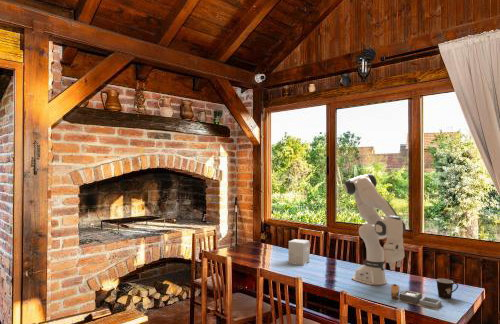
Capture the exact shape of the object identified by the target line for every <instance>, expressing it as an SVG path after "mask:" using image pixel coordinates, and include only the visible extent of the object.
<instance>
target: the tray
mask: <svg viewBox="0 0 500 324" xmlns="http://www.w3.org/2000/svg"><path fill="white" fill-rule="evenodd" d="M419 301H420V305H422V306H426V307H430V308H434V309H433V310H435V309H437V308H438V309H439V308H440V307H441V306H442V305H441V304H442V299H437V298H434V297H429V296H423V297H422V299H421V300H419ZM422 306H421V307H422ZM426 307H425V308H426ZM430 308H429V309H430ZM438 309H437V310H438Z"/></svg>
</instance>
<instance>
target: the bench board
mask: <svg viewBox="0 0 500 324" xmlns="http://www.w3.org/2000/svg"><path fill="white" fill-rule="evenodd" d="M397 301H398V302H402V303H406V304H410V305H411V304H412V305H414V306H418V307H424V308H427V309H432V310H435V311H437V310H438V309H439V308H437V309H434V308H430V307H426V306H422V305H420V302H418V303H417V304H413V303H409V302H405V301H401V300H399V299H397ZM441 306H443V303H441Z"/></svg>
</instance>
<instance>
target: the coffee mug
mask: <svg viewBox="0 0 500 324" xmlns="http://www.w3.org/2000/svg"><path fill="white" fill-rule="evenodd" d="M435 281H436V286H437V287H436V288H437V294H438V295H437V296H438V297H439V298H441V299H446V300H451V299H452V298H453V297H452V296H453V295H452V294H453V293H454V292H456V291H457V289H458V288H459V285H458V283H456V282H454V281H453V280H451V279H448V278H437V279H435ZM455 284H456V287H455V289H453V287H454V285H455Z"/></svg>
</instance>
